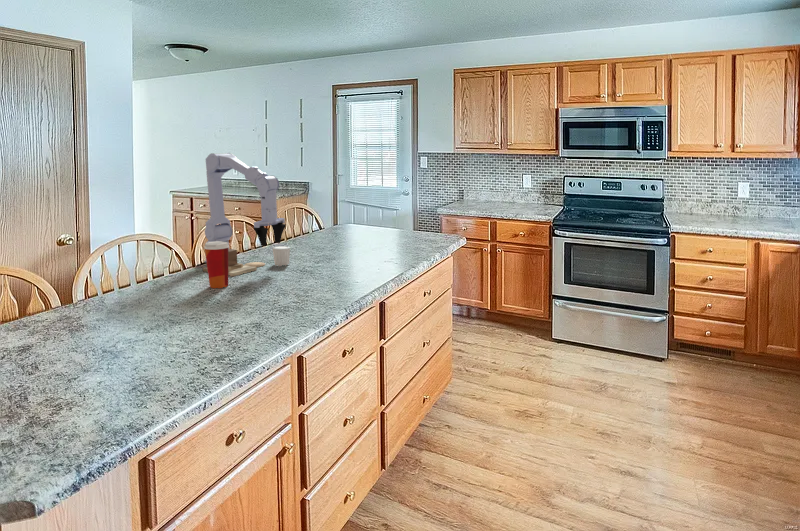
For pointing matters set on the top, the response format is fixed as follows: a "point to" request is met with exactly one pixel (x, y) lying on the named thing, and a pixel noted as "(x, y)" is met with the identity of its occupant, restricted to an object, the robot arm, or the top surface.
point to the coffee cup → (217, 263)
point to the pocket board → (237, 269)
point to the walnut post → (232, 257)
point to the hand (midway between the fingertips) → (270, 244)
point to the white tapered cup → (281, 255)
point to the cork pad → (255, 264)
